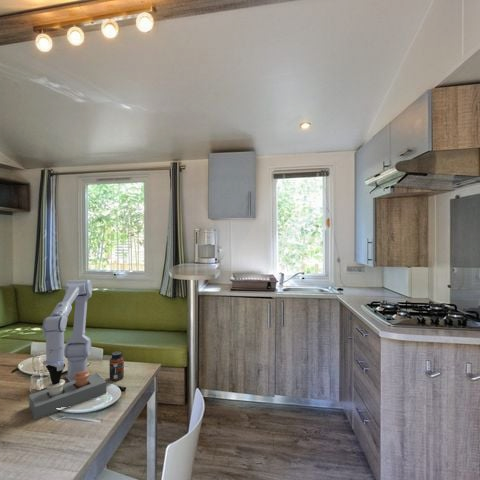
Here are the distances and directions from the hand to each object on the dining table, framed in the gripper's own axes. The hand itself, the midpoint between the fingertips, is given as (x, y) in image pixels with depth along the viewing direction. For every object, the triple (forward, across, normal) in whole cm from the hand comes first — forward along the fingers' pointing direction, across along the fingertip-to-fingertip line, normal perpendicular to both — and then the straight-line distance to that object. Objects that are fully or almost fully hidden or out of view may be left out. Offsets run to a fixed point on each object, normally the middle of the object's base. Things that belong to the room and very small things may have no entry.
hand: (55, 383), depth 110 cm
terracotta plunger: (+4, 0, +9) cm, 10 cm away
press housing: (+8, 0, +4) cm, 9 cm away
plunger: (+4, 0, 0) cm, 4 cm away
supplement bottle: (+8, -4, +24) cm, 26 cm away
